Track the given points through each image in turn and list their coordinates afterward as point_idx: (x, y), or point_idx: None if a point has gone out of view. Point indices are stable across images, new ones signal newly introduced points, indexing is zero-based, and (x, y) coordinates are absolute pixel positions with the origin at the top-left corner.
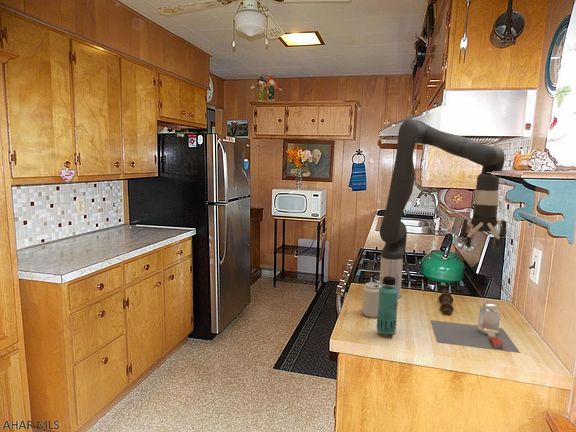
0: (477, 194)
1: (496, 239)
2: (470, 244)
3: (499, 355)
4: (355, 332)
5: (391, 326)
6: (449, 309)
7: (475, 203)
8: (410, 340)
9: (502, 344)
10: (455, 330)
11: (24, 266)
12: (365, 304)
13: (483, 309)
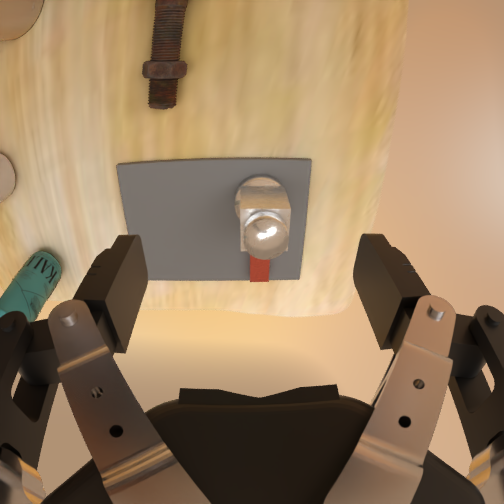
0: None
1: (389, 347)
2: (140, 299)
3: (256, 286)
4: (12, 266)
5: (52, 291)
6: (165, 108)
7: None
8: None
9: (267, 281)
10: (177, 211)
11: None
12: None
13: (243, 237)
